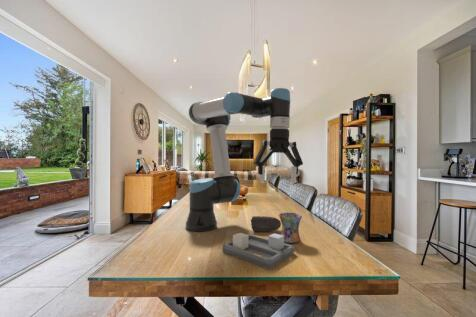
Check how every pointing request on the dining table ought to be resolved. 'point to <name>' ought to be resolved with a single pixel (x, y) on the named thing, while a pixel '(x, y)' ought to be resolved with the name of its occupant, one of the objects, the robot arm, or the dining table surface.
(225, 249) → the gray divided tray
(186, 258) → the dining table surface
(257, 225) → the perforated stone tool
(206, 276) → the dining table surface
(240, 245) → the off-white cube
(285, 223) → the mug
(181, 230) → the dining table surface
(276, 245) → the pale grey cube
